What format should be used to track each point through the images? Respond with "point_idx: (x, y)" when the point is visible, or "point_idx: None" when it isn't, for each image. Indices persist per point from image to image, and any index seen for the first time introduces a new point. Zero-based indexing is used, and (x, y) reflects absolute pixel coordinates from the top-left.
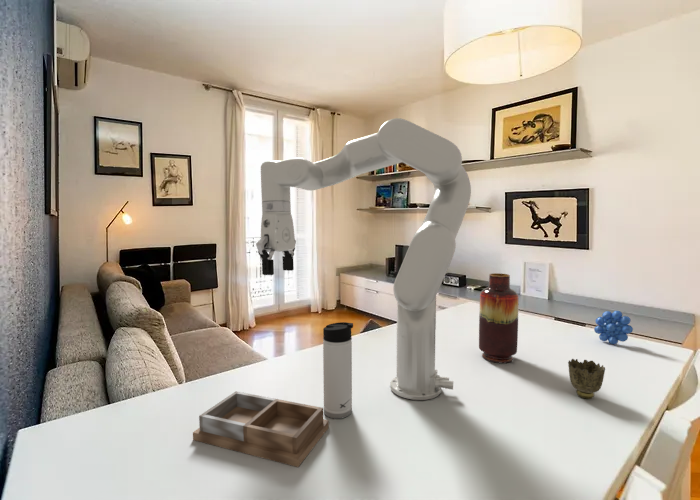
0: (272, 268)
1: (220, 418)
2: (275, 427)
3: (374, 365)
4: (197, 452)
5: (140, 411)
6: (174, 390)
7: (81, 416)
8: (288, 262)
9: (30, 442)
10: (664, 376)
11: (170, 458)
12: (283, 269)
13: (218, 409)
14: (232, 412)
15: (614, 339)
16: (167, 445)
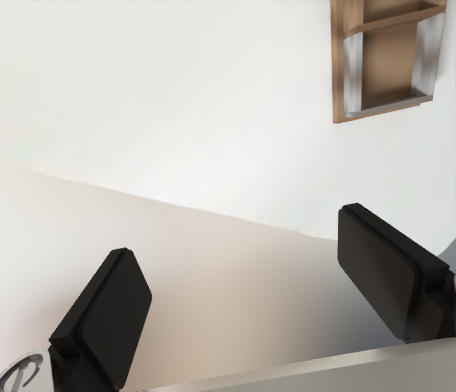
0: (382, 222)
1: (433, 65)
2: (381, 4)
3: (67, 7)
4: None
5: (378, 213)
6: (325, 229)
7: None
8: (119, 308)
9: (449, 236)
10: None
11: (447, 94)
12: (150, 296)
13: (397, 101)
14: (365, 101)
15: None
16: (427, 121)
